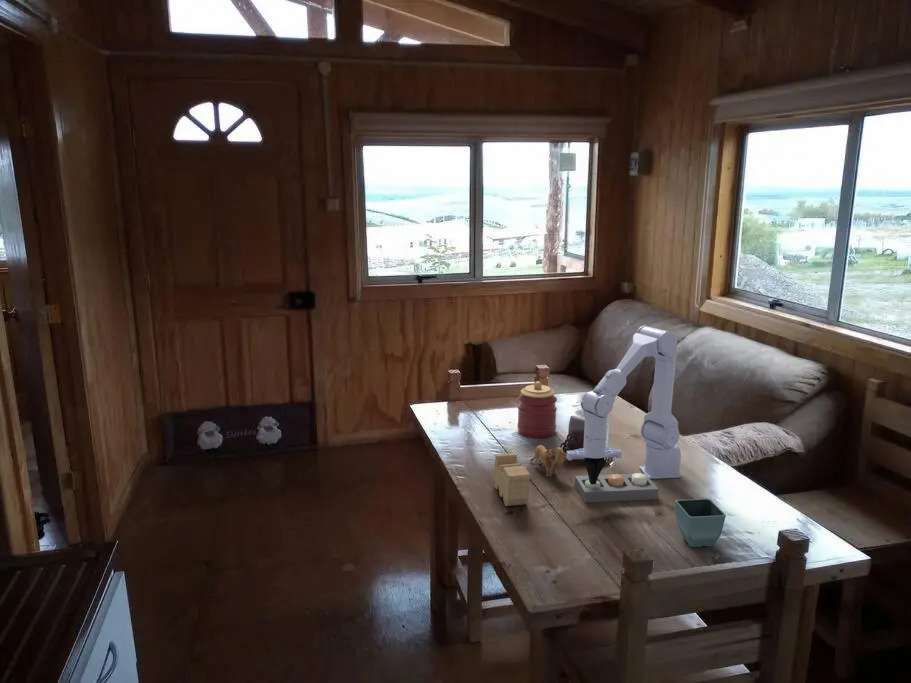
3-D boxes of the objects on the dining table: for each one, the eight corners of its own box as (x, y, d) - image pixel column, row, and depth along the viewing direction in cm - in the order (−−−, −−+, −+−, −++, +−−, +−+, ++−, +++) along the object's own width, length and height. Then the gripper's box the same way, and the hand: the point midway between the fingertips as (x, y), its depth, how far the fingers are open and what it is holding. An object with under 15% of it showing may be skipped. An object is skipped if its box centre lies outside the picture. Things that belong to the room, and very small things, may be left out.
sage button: (597, 489, 189) (597, 479, 189) (601, 495, 185) (602, 485, 185) (582, 489, 189) (583, 479, 188) (586, 496, 185) (587, 486, 184)
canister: (562, 429, 234) (564, 379, 230) (545, 441, 223) (547, 389, 219) (527, 422, 241) (529, 373, 237) (510, 433, 230) (511, 383, 226)
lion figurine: (569, 477, 197) (570, 448, 195) (555, 481, 194) (556, 452, 192) (536, 460, 209) (537, 432, 207) (522, 464, 206) (523, 435, 204)
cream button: (643, 482, 190) (643, 472, 189) (648, 489, 186) (649, 479, 186) (629, 483, 190) (629, 473, 189) (634, 490, 186) (634, 479, 185)
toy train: (511, 482, 194) (512, 449, 192) (529, 510, 178) (530, 474, 176) (492, 483, 193) (493, 450, 191) (508, 512, 177) (509, 476, 175)
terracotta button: (620, 483, 190) (621, 473, 189) (625, 490, 186) (625, 480, 185) (606, 484, 189) (606, 474, 188) (610, 491, 185) (611, 480, 185)
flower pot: (671, 533, 167) (674, 499, 164) (706, 531, 167) (709, 497, 165) (686, 552, 158) (689, 517, 156) (723, 550, 159) (726, 515, 157)
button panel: (644, 482, 193) (644, 473, 193) (657, 499, 184) (658, 488, 183) (574, 485, 192) (575, 476, 191) (584, 502, 182) (585, 492, 181)
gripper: (616, 429, 188) (613, 475, 191) (564, 431, 186) (562, 477, 190) (625, 439, 181) (622, 486, 184) (571, 441, 180) (569, 488, 183)
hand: (592, 482), depth 186 cm, fingers closed, pressing on sage button
